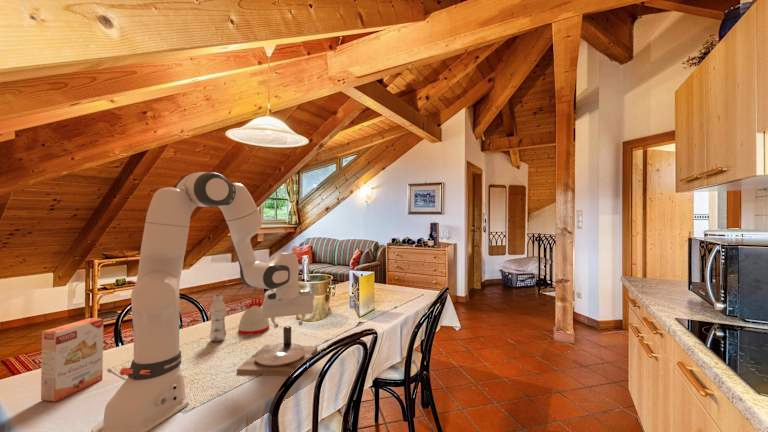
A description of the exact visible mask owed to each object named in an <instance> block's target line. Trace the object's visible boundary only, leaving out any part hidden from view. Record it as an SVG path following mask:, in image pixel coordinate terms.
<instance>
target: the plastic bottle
mask: <svg viewBox="0 0 768 432" xmlns="http://www.w3.org/2000/svg"><path fill="white" fill-rule="evenodd" d="M223 299H224V298H223V294H214V295H213V298H212V300H213V302H212V303H211V304H210V307H209V311H210V320H211V324H210V333H209V339H210V341H212V342H215V343H216V342H221V341H224V340H225V339H226V337H227V330H226V323H225V322H226V321H225V318H226V310H227V306H226V304H225V302H224V301H223Z"/></svg>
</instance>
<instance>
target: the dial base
mask: <svg viewBox="0 0 768 432" xmlns="http://www.w3.org/2000/svg"><path fill="white" fill-rule="evenodd" d="M270 345H271V344H265V345H263V347H261V348H260V349H262V348H264V347H266V346H270ZM302 346H303V347H304V356H303V358H302V359H300V360H299V361H297V362H295V363H292V364H289V365H285V366H279V367H265V366H261V365H258V364H257V363H256V362H255V354H256V352H255V353H254V354H252V355H251V357H250V358H247V360H246V361H245V362H244V363H242V364H241V365H240V366H239V367H238V368H237V369H236V374H243V375H261V376H262V375H264V376H285V377H287V376H288V377H290V376H289V375H290V374H291V373H292V372H293V371H294V370H295V369H296V368H297V367H298V366H299V365H301V364H302V363H303V362H304V361H305V360H307V359H308V358H309V357H310V356H311V355H313V354H314V353H317V351H318V346H316V345H302ZM314 355H315V354H314ZM314 355H313V356H314Z"/></svg>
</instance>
